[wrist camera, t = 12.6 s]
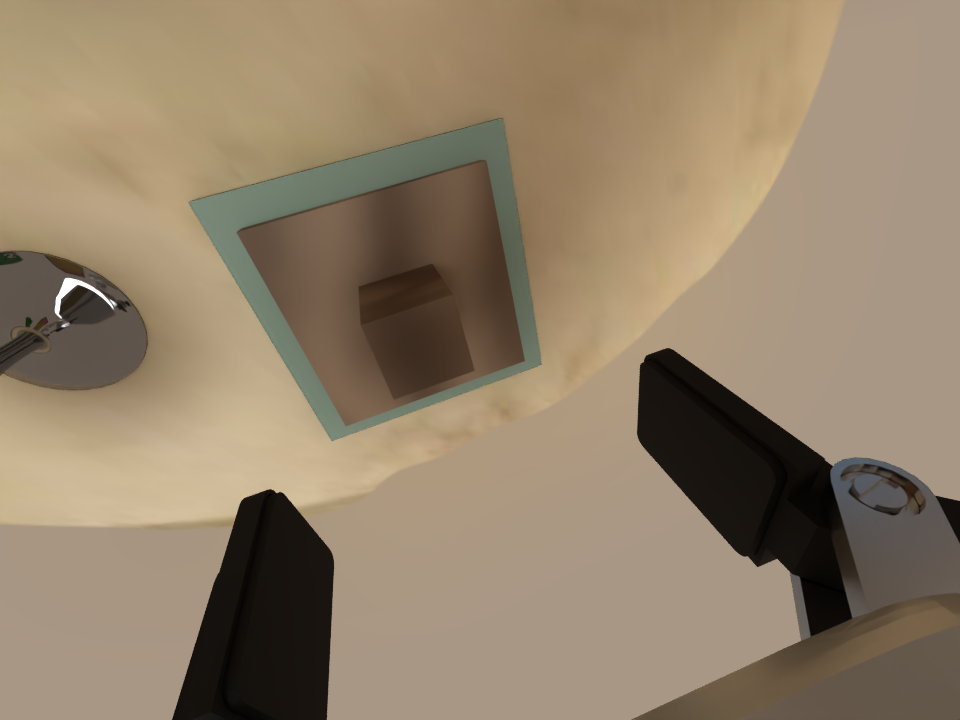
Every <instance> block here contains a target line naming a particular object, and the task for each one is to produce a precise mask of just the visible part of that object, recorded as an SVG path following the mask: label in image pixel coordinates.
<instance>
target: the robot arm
mask: <svg viewBox="0 0 960 720" xmlns="http://www.w3.org/2000/svg"><path fill="white" fill-rule="evenodd" d="M637 427H638V428H637V435H638V439H639V441H640V443H641V444H642V446H643V447H644V448H645V449H646V450H647V452H648V453H649V454H650V455H651V456H652V457H653V458H654V459H655V461H656V462H657V463H658V464H659V465H660V466H661V467H662V468H663V470H664V471H665V472H666V473H667V474H668V475H669V476H670V478H671V479H672V480H673V481H674V482H675V483H676V484H677V486H678V487H679V488H680V489H681V490H682V491H683V492H684V493H685V495H686V496H687V497H688V498H689V499H690V500H691V501H692V502H693V504H695V506H696V507H697V508H698V509H699V510H700V511H701V513H702V514H703V515H704V516H705V517H706V518H707V519H708V520H709V522H710V523H711V524H712V525H713V526H714V527H715V528H716V529H717V531H718V532H719V533H720V534H721V535H722V536H723V537H724V539H726V541H727V542H728V543H729V544H730V545H731V546H732V547H733V549H734V550H735V551H736V552H737V553H739V554H740V555H742V556H748V557H749V558H750V559H751V560H752V561H753V563H754V564H755V565H756V566H757V567H759V566H761V565H764V564H766V563H768V562H771V561H773V560H775V559H778V560H779V561H780V562H781V563H782V564H783V565H784V566H785V567H786V568H787V569H788V570H789V571H790V576H791V582H792V588H793V594H794V600H795V607H796V612H797V619H798V624H799V631H800V636H801V641H800V642H798V643H796V644H793V645H791V646H789V647H787V648H784V649H782V650H780V651H778V652H776V653H774V654H771V655H769V656H767V657H765V658H763V659H761V660H759V661H756V662H754V663H752V664H750V665H748V666H746V667H743V668H741V669H739V670H737V671H735V672H733V673H730V674H728V675H726V676H724V677H722V678H720V679H718V680H715V681H713V682H711V683H709V684H707V685H705V686H702V687H701V688H698V689H696V690H694V691H692V692H690V693H688V694H686V695H683V696H681V697H679V698H677V699H674V700H672V701H670V702H668V703H666V704H664V705H662V706H660V707H657V708H655V709H653V710H651V711H649V712H647V713H645V714H643V715H640V716H638V717H636V718H634V719H632V720H960V501H957V500H953V499H948V498H943V497H939V496H935V495H934V494H933V493H932V492H931V490H930V489H929V487H928V486H926V485H925V484H924V483H923V482H922V481H920V480H919V479H918V478H917V477H915V476H914V475H912V474H910V473H908V472H907V471H905V470H903V469H901V468H899V467H896V466H894V465H891V464H889V463H886V462H882V461H878V460H874V459H870V458H849V459H843V460H841V461H839V462H837V463H836V464H834V466H832V465H830V464H829V463H828V462H826V461H825V459H824V458H823V457H822V456H820V455H819V454H818V453H816V452H815V451H814V450H812V449H811V448H809V447H808V446H807V445H805V444H804V443H802V442H801V441H800V440H798V439H797V438H795V437H794V436H793V435H791V434H790V433H788V432H787V431H785V430H784V429H783V428H781V427H780V426H779V425H777V424H776V423H774V422H773V421H772V420H770V419H769V418H767V417H766V416H764V415H763V414H762V413H761V412H759V411H757V410H756V409H755V408H754V407H752V406H751V405H749V404H748V403H747V402H745V401H744V400H742V399H741V398H739V397H738V396H737V395H735V394H734V393H733V392H731V391H730V390H728V389H727V388H726V387H724V386H723V385H721V384H720V383H719V382H717V381H716V380H714V379H713V378H712V377H710V376H709V375H707V374H706V373H705V372H703V371H702V370H700V369H699V368H698V367H696V366H695V365H694V364H692V363H691V362H689V361H688V360H686V359H685V358H684V357H682V356H681V355H680V354H678V353H677V352H675V351H674V350H672V349H670V348H666V349H663V350H660V351H658V352H655V353H652V354H649V355H647V356H646V357H645V359H644V362H643V363H642V364H641V365H640V380H639V402H638V426H637ZM333 576H334V559H333V555H332V553H331V551H330V549H329V548H328V547H327V545H326V544H325V543H324V542H323V540H322V539H321V538H320V537H319V536H318V534H317V533H316V532H315V531H314V530H313V528H312V527H311V526H310V525H309V524H308V522H307V521H306V520H305V519H304V517H303V516H302V515H301V514H300V513H299V511H298V510H297V509H296V508H295V507H294V505H293V504H292V503H291V502H290V501H289V499H288V498H287V497H286V496H285V495H284V494H283V493H282V492H279V493H276V492H275V491H274V490H271V489H269V490H266V491H263V492H260V493H258V494H255V495H252V496H249V497H246V498H244V499H243V500H242V501H241V503H240V505H239V509H238V512H237V515H236V519H235V522H234V525H233V529H232V532H231V535H230V539H229V542H228V545H227V549H226V552H225V556H224V559H223V562H222V565H221V568H220V572H219V573H218V575H217V577H216V579H215V582H214V585H213V588H212V591H211V595H210V598H209V601H208V604H207V608H206V611H205V614H204V617H203V621H202V624H201V627H200V630H199V634H198V637H197V640H196V643H195V647H194V650H193V653H192V657H191V660H190V663H189V666H188V670H187V673H186V676H185V680H184V683H183V686H182V689H181V692H180V696H179V699H178V702H177V706H176V709H175V712H174V716H173V719H172V720H327V703H328V702H327V701H328V681H329V660H330V638H331V618H332V597H333Z"/></svg>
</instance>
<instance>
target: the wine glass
mask: <svg viewBox="0 0 960 720" xmlns="http://www.w3.org/2000/svg"><path fill="white" fill-rule="evenodd" d="M146 348H147V332H146V328H145V325H144V322H143V320H142V318H141V316H140V314H139V312H138V310H137V309H136V307H135V306H134V305H133V304H132V302H131V301H130V300H129V298H128V297H127V296H126V295H124V294H123V293H122V292H121V291H120V290H119V289H118V288H117V287H116V286H115V285H113V284H112V283H110V282H109V281H108V280H106V279H105V278H104V277H102V276H100V275H99V274H97V273H95V272H93V271H91V270H90V269H88V268H86V267H84V266H81V265H79V264H76V263H74V262H72V261H69V260H66V259H63V258H59V257H56V256H52V255H48V254H42V253H36V252H29V251H4V252H0V376H1V375H2V374H5V375H7V376H10V377H12V378H15V379H17V380H20V381H22V382H25V383H29V384H32V385H36V386H40V387H45V388H51V389H58V390H89V389H95V388H101V387H105V386H108V385H111V384H114V383H116V382H118V381H120V380H122V379H124V378H126V377H127V376H129V375H130V374H131V373H132V372H134V371H135V370H136V368H137V367H138V366H139V365H140V364H141V362H142V360H143V358H144V356H145V354H146Z"/></svg>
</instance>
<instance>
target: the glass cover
mask: <svg viewBox="0 0 960 720" xmlns="http://www.w3.org/2000/svg"><path fill="white" fill-rule="evenodd" d="M236 233H237V235H238V236H239V238H240V240H241V242H242V243H243V245H244V247H245V249H246V251H247V252H248V254H249V256H250V258H251V259H252V261H253V263H254V265H255V266H256V268H257V270H258V272H259V274H260V275H261V277H262V279H263V281H264V282H265V284H266V286H267V288H268V290H269V291H270V293H271V295H272V297H273V298H274V300H275V302H276V304H277V305H278V307H279V309H280V311H281V313H282V314H283V316H284V318H285V320H286V321H287V323H288V325H289V327H290V328H291V330H292V332H293V334H294V336H295V337H296V339H297V341H298V343H299V344H300V346H301V348H302V350H303V351H304V353H305V355H306V357H307V359H308V360H309V362H310V364H311V366H312V367H313V369H314V371H315V373H316V374H317V376H318V378H319V380H320V382H321V383H322V385H323V387H324V389H325V390H326V392H327V394H328V396H329V398H330V399H331V401H332V403H333V405H334V406H335V408H336V410H337V412H338V413H339V415H340V417H341V419H342V421H343V422H344V424H345V426H348V425H351V424H354V423H357V422H359V421H362V420H365V419H368V418H370V417H373V416H376V415H379V414H381V413H384V412H387V411H389V410H392V409H395V408H398V407H400V406H403V405H406V404H409V403H411V402H414V401H417V400H420V399H422V398H425V397H428V396H431V395H433V394H436V393H439V392H442V391H444V390H447V389H450V388H453V387H455V386H458V385H461V384H464V383H466V382H469V381H472V380H474V379H477V378H480V377H483V376H485V375H488V374H491V373H494V372H496V371H499V370H502V369H505V368H507V367H510V366H513V365H516V364H518V363H521V362H524V361H525V359H524V353H523V348H522V343H521V338H520V332H519V327H518V322H517V317H516V312H515V306H514V301H513V296H512V291H511V285H510V280H509V275H508V270H507V265H506V259H505V254H504V249H503V244H502V238H501V233H500V228H499V223H498V218H497V212H496V207H495V202H494V197H493V191H492V186H491V181H490V176H489V171H488V165H487V160H478V161H475V162H471V163H468V164H464V165H461V166H457V167H454V168H450V169H447V170H443V171H440V172H436V173H433V174H429V175H426V176H422V177H419V178H415V179H412V180H408V181H405V182H401V183H398V184H394V185H391V186H387V187H384V188H380V189H377V190H373V191H370V192H366V193H363V194H359V195H356V196H353V197H349V198H346V199H342V200H339V201H335V202H332V203H328V204H325V205H321V206H318V207H314V208H311V209H307V210H304V211H300V212H297V213H293V214H290V215H286V216H283V217H279V218H276V219H272V220H269V221H265V222H262V223H258V224H255V225H251V226H248V227H244V228H241V229H240V230H239V231H237V232H236Z"/></svg>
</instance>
